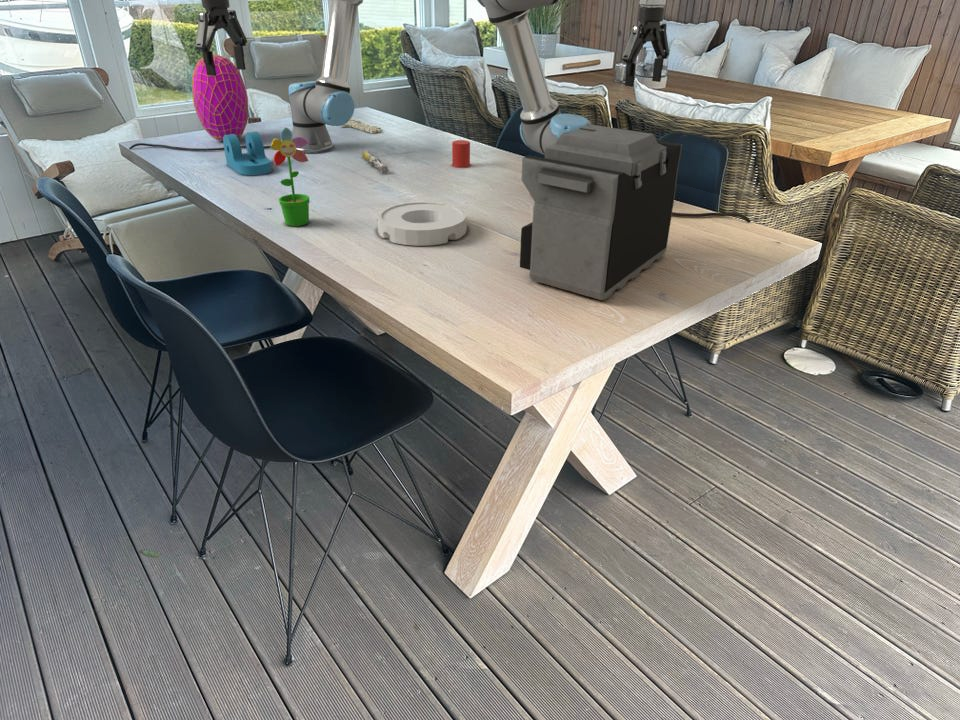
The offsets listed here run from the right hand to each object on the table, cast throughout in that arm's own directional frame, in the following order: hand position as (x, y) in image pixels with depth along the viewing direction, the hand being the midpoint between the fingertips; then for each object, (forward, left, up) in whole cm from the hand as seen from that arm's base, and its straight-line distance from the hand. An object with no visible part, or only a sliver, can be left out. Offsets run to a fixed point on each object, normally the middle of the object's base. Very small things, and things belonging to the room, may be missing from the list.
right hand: (642, 83), depth 211 cm
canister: (+56, +13, -29) cm, 64 cm away
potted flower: (+69, +86, -29) cm, 114 cm away
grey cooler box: (-12, +80, -29) cm, 86 cm away
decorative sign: (+120, -20, -29) cm, 125 cm away
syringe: (+82, +27, -29) cm, 91 cm away
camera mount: (+116, +50, -29) cm, 130 cm away
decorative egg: (+151, +23, -29) cm, 156 cm away
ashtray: (+36, +76, -29) cm, 89 cm away
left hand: (+114, +56, +2) cm, 127 cm away
